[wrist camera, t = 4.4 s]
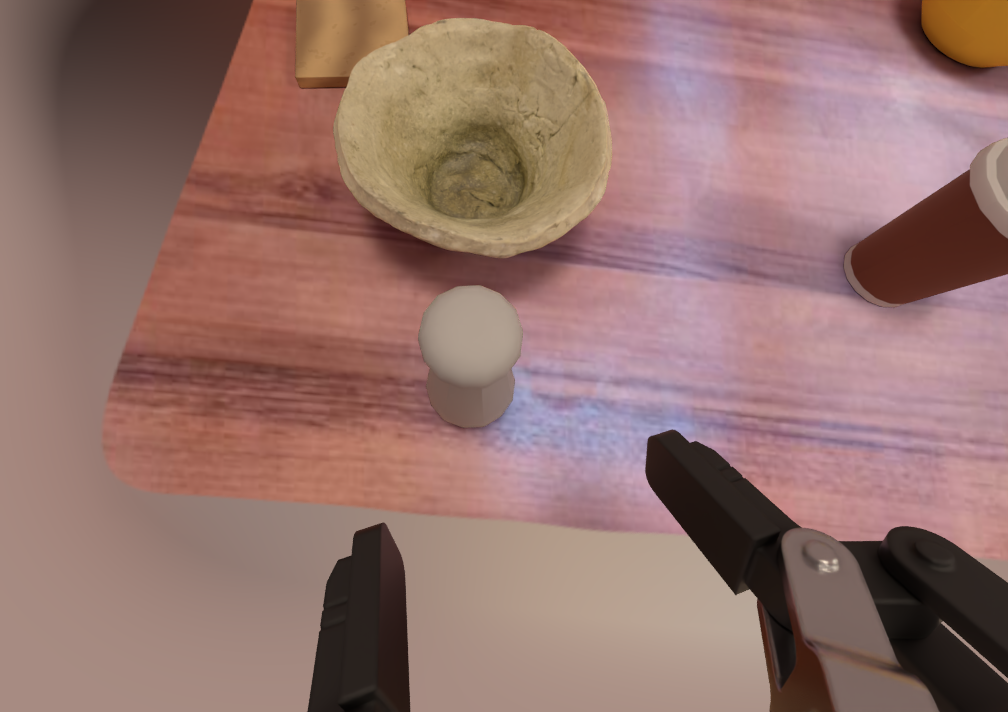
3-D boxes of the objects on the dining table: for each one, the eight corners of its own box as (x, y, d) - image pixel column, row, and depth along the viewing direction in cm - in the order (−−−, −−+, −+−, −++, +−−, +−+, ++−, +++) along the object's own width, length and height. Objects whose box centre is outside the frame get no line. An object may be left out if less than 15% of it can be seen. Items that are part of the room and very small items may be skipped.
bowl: (554, 225, 36) (608, 286, 24) (363, 210, 33) (318, 271, 21) (588, 42, 28) (691, 1, 17) (342, 0, 25) (252, -89, 13)
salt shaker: (504, 437, 26) (535, 414, 13) (423, 424, 26) (378, 389, 13) (515, 358, 27) (552, 273, 15) (439, 345, 27) (412, 248, 15)
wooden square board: (300, 88, 33) (294, 77, 32) (300, 9, 35) (296, -4, 34) (413, 86, 34) (412, 75, 33) (406, 10, 36) (404, -3, 36)
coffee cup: (936, 264, 33) (1181, 161, 22) (913, 342, 31) (1174, 271, 19) (846, 212, 34) (1035, 87, 23) (815, 284, 32) (1012, 183, 20)
